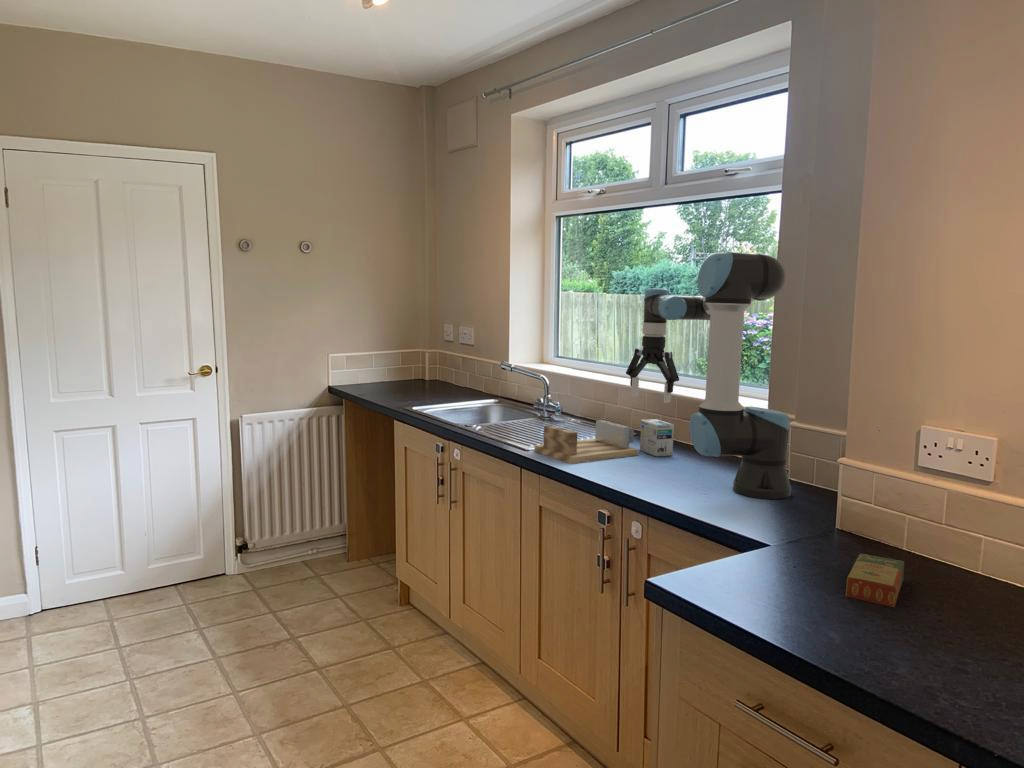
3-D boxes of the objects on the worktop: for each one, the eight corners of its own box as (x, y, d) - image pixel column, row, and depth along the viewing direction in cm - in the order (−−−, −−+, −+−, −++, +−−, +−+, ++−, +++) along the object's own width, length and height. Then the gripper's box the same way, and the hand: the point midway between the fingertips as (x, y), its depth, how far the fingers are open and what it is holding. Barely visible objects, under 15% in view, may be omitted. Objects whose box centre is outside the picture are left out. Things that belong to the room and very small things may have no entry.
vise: (637, 455, 247) (639, 428, 246) (570, 463, 232) (571, 435, 231) (599, 443, 264) (600, 418, 263) (534, 451, 249) (535, 424, 248)
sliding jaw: (644, 445, 252) (645, 425, 251) (622, 448, 247) (623, 427, 246) (617, 438, 264) (618, 418, 263) (595, 440, 259) (596, 420, 258)
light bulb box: (673, 455, 248) (674, 424, 246) (655, 457, 245) (657, 424, 244) (655, 449, 258) (657, 418, 256) (638, 450, 255) (640, 419, 254)
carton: (844, 598, 136) (846, 575, 135) (856, 571, 149) (858, 550, 149) (895, 609, 132) (897, 586, 131) (903, 580, 145) (905, 559, 144)
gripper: (692, 338, 238) (688, 403, 241) (632, 332, 256) (628, 393, 259) (678, 338, 233) (674, 405, 236) (617, 333, 251) (614, 395, 254)
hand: (650, 399), depth 247 cm, fingers open, 13 cm apart
